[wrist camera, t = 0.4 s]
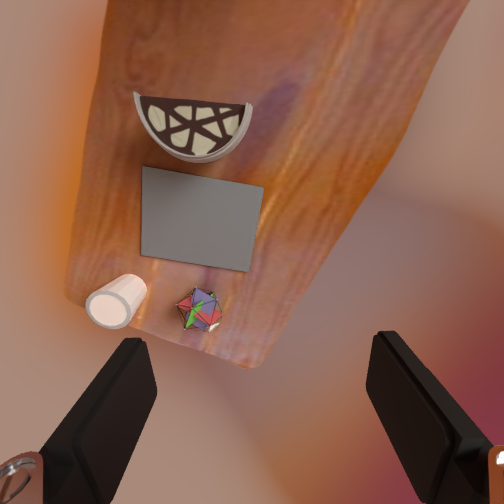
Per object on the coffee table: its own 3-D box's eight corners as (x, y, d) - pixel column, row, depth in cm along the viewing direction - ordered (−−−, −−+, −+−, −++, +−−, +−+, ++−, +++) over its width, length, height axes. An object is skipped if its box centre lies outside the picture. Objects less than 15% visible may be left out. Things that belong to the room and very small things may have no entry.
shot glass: (151, 274, 41) (131, 294, 35) (149, 307, 44) (131, 332, 37) (110, 267, 41) (83, 287, 34) (111, 301, 43) (86, 326, 37)
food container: (166, 160, 35) (133, 157, 26) (164, 112, 33) (127, 90, 24) (249, 167, 35) (247, 167, 26) (253, 120, 33) (252, 102, 24)
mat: (144, 166, 35) (142, 166, 35) (264, 187, 36) (264, 187, 36) (142, 253, 40) (141, 254, 39) (248, 270, 41) (248, 272, 40)
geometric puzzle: (166, 312, 41) (182, 347, 36) (176, 279, 39) (195, 311, 34) (203, 308, 46) (222, 339, 41) (214, 279, 44) (236, 306, 38)
